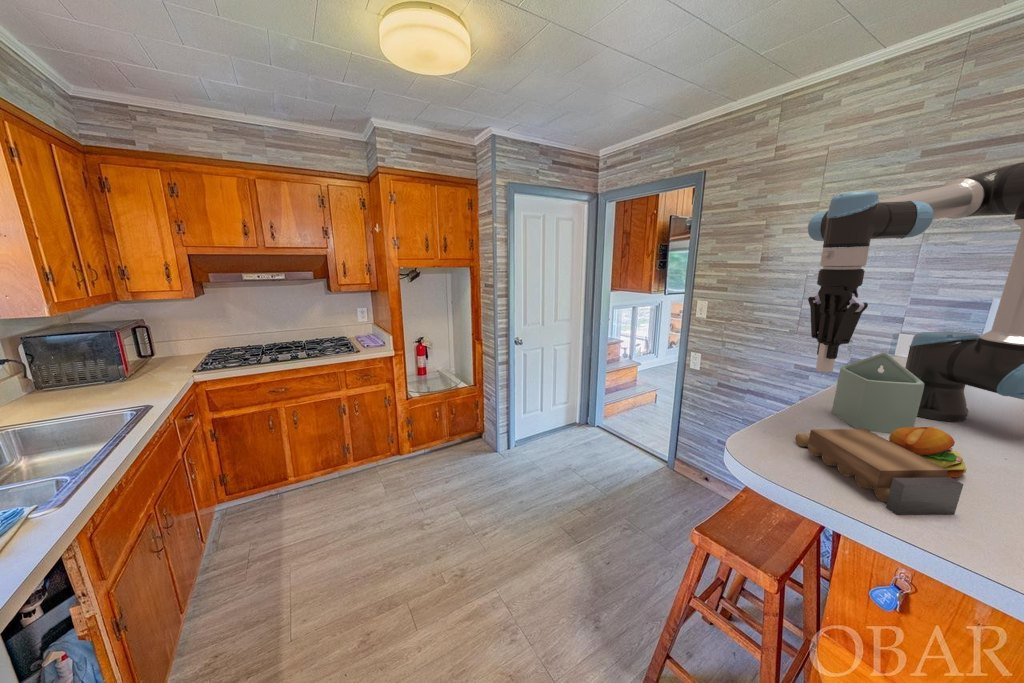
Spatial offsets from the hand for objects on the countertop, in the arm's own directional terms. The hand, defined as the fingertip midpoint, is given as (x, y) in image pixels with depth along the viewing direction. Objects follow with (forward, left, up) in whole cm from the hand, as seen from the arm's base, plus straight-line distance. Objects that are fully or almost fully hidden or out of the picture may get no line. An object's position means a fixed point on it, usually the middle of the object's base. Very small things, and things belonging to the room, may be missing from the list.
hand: (824, 370), depth 85 cm
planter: (-20, -8, -18) cm, 28 cm away
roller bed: (0, +12, -18) cm, 22 cm away
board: (0, +15, -15) cm, 21 cm away
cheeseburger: (-15, +11, -18) cm, 26 cm away
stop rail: (0, +25, -18) cm, 31 cm away
